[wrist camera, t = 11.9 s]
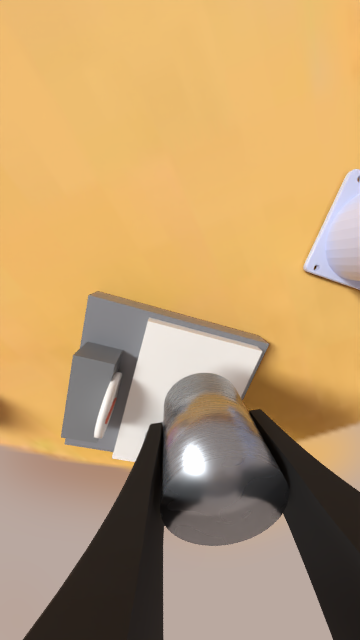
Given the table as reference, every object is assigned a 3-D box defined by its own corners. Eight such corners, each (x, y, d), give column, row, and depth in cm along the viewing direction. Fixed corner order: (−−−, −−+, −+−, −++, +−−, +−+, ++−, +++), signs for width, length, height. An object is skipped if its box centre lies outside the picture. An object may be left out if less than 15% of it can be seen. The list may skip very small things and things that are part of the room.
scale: (258, 335, 18) (303, 371, 12) (207, 450, 23) (220, 518, 17) (98, 291, 16) (55, 308, 10) (74, 427, 21) (34, 496, 14)
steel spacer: (240, 369, 11) (296, 449, 6) (238, 431, 12) (282, 537, 7) (160, 376, 11) (153, 464, 6) (167, 439, 12) (165, 552, 7)
